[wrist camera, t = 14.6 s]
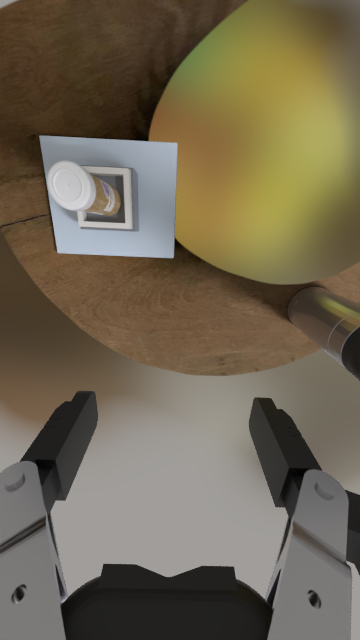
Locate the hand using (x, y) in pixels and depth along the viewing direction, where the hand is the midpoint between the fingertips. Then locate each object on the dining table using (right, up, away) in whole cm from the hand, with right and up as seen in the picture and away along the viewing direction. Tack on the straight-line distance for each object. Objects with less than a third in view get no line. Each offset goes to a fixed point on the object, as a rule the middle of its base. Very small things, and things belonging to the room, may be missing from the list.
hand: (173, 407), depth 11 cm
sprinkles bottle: (-11, +23, +24) cm, 36 cm away
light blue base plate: (-11, +25, +29) cm, 40 cm away
